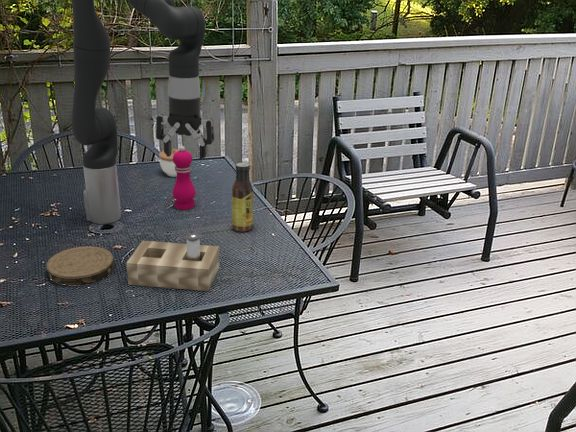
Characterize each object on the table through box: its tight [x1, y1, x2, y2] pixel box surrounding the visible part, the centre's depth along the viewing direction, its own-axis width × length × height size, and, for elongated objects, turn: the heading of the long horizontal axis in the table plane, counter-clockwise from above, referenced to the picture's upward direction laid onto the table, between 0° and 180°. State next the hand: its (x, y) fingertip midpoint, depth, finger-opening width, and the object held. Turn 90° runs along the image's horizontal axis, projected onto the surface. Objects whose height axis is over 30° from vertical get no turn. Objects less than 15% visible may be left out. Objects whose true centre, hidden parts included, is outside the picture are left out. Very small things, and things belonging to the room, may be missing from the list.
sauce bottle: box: [231, 162, 254, 233], centre depth 168 cm, size 7×6×20 cm
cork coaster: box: [46, 245, 115, 286], centre depth 147 cm, size 16×16×3 cm
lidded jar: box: [158, 148, 180, 178], centre depth 210 cm, size 11×11×9 cm
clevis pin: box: [183, 229, 203, 261], centre depth 143 cm, size 4×4×12 cm
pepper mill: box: [172, 145, 196, 211], centre depth 182 cm, size 7×7×20 cm
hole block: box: [126, 240, 220, 292], centre depth 145 cm, size 20×12×6 cm, turn 84°
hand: (185, 157), depth 147 cm, fingers open, 8 cm apart
